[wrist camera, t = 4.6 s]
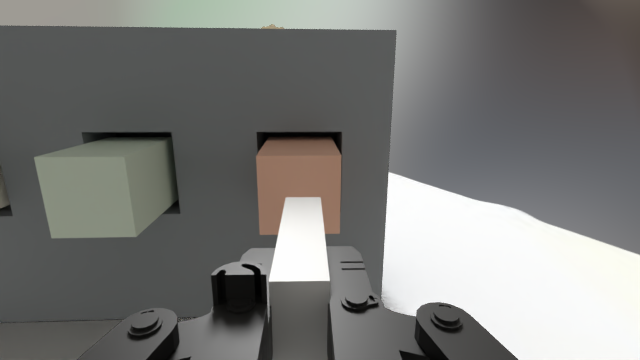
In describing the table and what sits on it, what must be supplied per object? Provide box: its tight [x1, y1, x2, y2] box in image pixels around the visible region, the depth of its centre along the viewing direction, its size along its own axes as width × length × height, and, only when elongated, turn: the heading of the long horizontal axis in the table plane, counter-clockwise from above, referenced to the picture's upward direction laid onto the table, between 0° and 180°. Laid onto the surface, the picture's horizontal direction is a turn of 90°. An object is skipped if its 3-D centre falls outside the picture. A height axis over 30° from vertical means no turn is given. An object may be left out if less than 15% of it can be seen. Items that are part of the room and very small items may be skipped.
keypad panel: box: [0, 26, 396, 323], centre depth 27 cm, size 34×8×20 cm, turn 93°
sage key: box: [34, 137, 179, 238], centre depth 21 cm, size 4×7×4 cm, turn 3°
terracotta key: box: [256, 137, 341, 235], centre depth 22 cm, size 4×7×4 cm, turn 3°
